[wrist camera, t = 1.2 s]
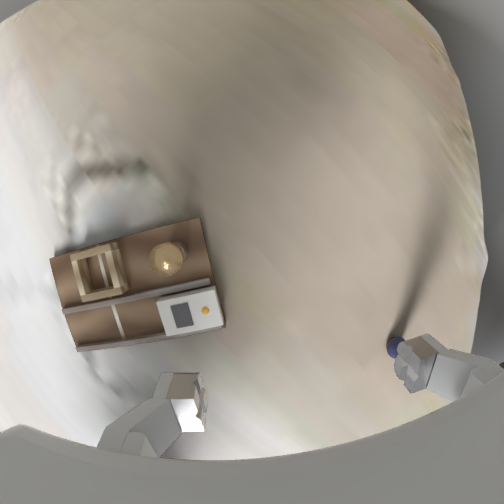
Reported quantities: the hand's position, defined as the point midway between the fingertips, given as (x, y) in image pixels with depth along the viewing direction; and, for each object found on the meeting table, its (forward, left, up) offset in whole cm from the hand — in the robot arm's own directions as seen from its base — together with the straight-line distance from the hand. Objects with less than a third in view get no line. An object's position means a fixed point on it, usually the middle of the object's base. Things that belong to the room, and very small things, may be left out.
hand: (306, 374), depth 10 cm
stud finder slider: (-4, +9, -28) cm, 30 cm away
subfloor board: (0, +18, -30) cm, 35 cm away
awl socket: (+4, +21, -29) cm, 35 cm away
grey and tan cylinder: (+4, +9, -29) cm, 30 cm away
